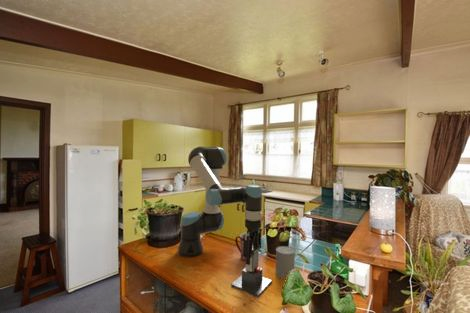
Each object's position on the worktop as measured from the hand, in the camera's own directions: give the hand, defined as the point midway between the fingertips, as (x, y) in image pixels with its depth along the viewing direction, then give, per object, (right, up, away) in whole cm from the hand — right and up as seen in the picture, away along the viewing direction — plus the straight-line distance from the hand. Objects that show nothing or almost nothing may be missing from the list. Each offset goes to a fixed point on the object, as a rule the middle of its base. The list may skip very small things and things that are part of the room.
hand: (252, 267), depth 109 cm
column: (0, -7, 0) cm, 7 cm away
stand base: (0, -8, 0) cm, 8 cm away
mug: (-3, -7, +27) cm, 28 cm away
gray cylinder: (+17, -8, +10) cm, 22 cm away
